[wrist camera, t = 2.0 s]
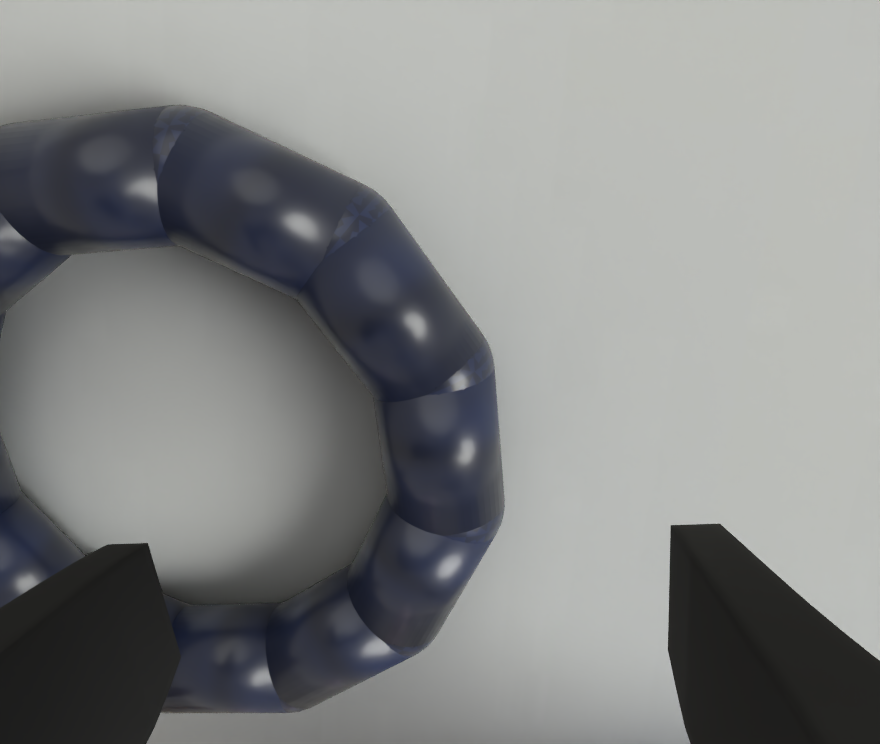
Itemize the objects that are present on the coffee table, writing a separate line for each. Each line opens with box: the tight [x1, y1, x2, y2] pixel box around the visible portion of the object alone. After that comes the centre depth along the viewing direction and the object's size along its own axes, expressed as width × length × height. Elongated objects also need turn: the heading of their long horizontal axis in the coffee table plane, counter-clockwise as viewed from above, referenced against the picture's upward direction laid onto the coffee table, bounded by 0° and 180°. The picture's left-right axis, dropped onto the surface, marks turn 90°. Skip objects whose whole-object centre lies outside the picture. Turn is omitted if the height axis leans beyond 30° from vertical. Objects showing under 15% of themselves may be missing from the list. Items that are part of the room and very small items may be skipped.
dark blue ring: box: [0, 105, 505, 713], centre depth 15 cm, size 13×13×2 cm
